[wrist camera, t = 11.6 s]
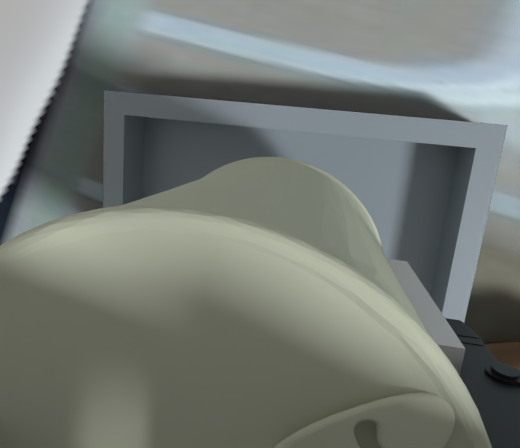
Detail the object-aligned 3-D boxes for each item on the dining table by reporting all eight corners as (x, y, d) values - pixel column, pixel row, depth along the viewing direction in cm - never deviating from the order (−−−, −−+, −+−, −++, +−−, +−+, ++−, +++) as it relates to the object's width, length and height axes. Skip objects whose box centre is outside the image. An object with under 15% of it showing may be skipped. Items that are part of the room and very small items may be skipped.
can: (425, 315, 17) (662, 733, 5) (232, 400, 19) (84, 833, 7) (312, 111, 16) (283, 40, 4) (122, 225, 18) (-256, 396, 6)
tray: (128, 327, 25) (101, 353, 22) (133, 96, 22) (103, 90, 19) (428, 376, 22) (444, 412, 19) (480, 126, 19) (507, 125, 16)
